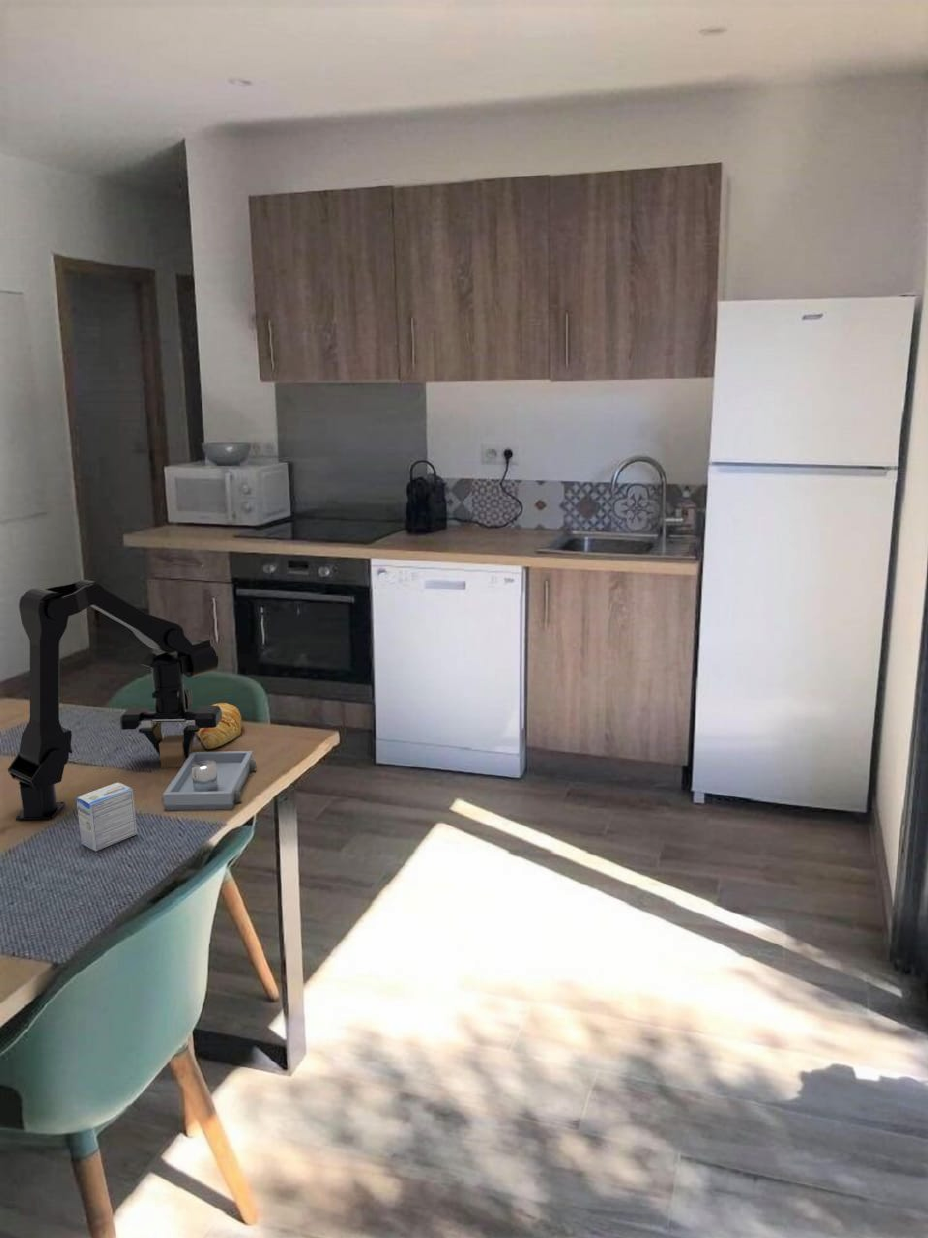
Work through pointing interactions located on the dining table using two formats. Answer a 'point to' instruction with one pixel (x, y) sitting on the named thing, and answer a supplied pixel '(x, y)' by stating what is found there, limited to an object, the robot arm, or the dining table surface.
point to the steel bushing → (204, 776)
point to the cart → (229, 774)
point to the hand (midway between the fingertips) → (175, 757)
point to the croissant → (222, 727)
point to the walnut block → (172, 751)
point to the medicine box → (106, 816)
